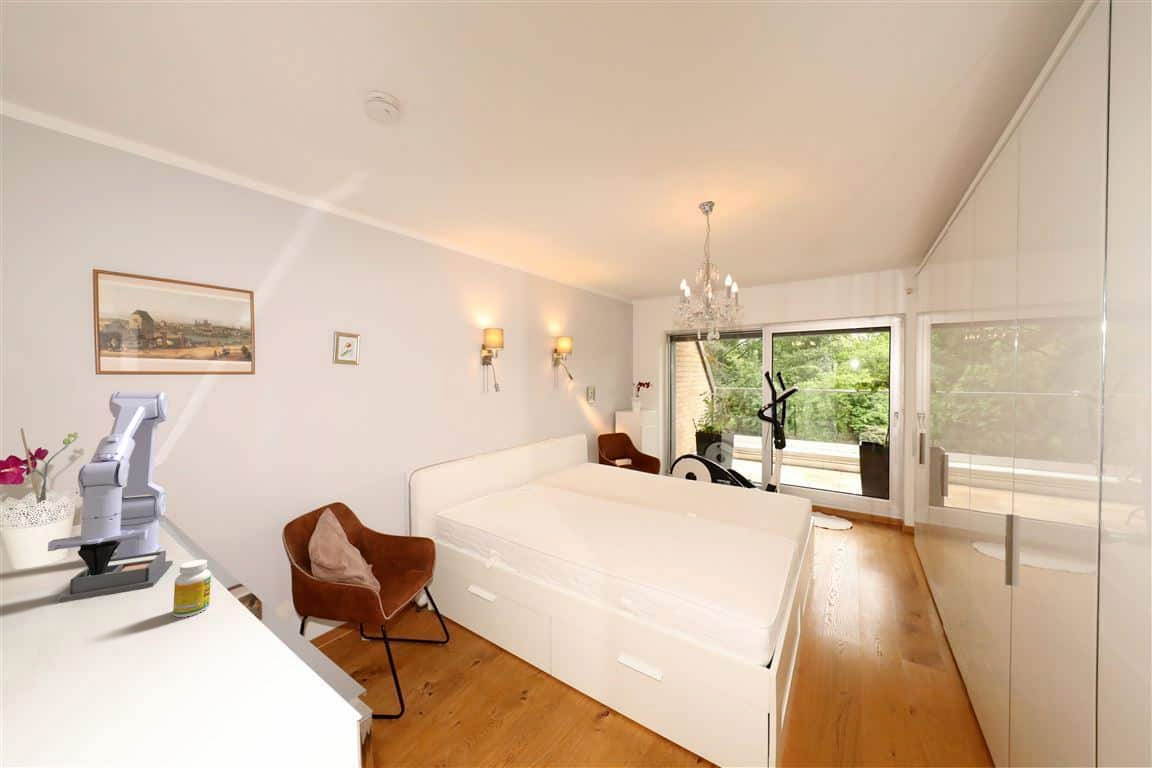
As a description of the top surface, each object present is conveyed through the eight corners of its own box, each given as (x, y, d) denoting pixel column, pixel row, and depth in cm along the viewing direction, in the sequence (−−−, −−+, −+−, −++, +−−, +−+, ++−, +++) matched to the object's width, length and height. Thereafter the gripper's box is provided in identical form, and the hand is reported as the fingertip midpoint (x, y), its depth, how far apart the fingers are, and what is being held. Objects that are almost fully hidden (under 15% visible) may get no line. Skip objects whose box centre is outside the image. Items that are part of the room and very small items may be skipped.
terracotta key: (125, 573, 93) (125, 566, 93) (149, 569, 95) (150, 563, 95) (118, 580, 90) (118, 573, 90) (143, 576, 92) (143, 569, 92)
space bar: (100, 569, 95) (101, 563, 95) (157, 561, 100) (158, 555, 100) (92, 576, 92) (93, 569, 92) (152, 567, 97) (152, 560, 97)
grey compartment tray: (90, 576, 96) (91, 559, 96) (172, 564, 103) (173, 548, 103) (58, 602, 84) (59, 583, 84) (153, 586, 91) (154, 568, 91)
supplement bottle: (174, 609, 82) (177, 562, 82) (210, 601, 85) (212, 555, 85) (171, 621, 78) (173, 571, 78) (208, 612, 81) (210, 564, 81)
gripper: (40, 525, 83) (36, 592, 82) (141, 515, 91) (138, 576, 90) (59, 516, 89) (56, 579, 88) (152, 507, 96) (149, 565, 96)
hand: (98, 577), depth 90 cm, fingers closed, pressing on green key
